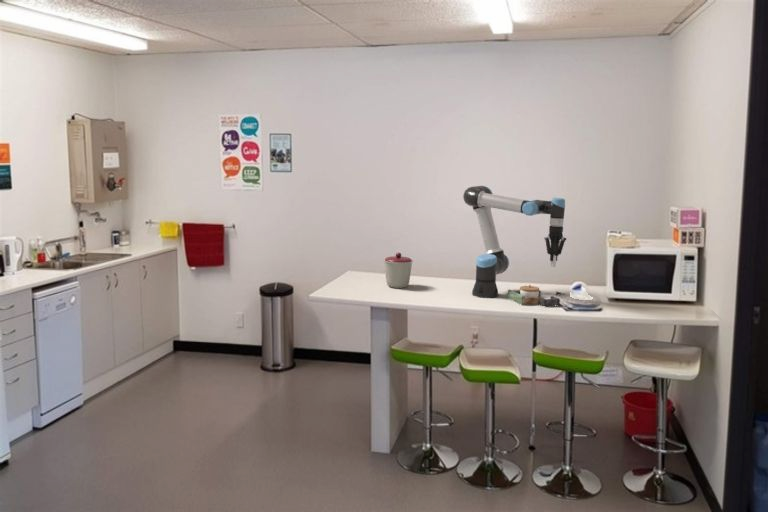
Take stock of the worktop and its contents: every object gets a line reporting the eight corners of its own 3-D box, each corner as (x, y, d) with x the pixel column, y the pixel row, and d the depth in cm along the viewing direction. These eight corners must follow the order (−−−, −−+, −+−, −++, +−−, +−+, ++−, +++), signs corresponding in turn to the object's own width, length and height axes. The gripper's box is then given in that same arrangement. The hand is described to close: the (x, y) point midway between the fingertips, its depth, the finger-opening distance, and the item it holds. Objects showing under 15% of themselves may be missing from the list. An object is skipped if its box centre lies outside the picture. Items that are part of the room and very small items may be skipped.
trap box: (526, 307, 366) (527, 298, 365) (503, 296, 393) (503, 287, 393) (559, 306, 371) (559, 297, 370) (534, 294, 399) (534, 286, 398)
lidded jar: (538, 303, 376) (539, 287, 374) (519, 302, 378) (519, 286, 376) (538, 299, 386) (539, 283, 384) (519, 298, 388) (520, 282, 387)
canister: (382, 283, 422) (383, 250, 419) (411, 283, 423) (412, 250, 419) (383, 289, 404) (384, 254, 401) (413, 289, 405) (414, 255, 401)
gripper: (549, 226, 374) (546, 268, 378) (570, 226, 377) (566, 267, 381) (542, 224, 381) (539, 265, 385) (563, 224, 384) (559, 265, 388)
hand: (553, 266), depth 383 cm, fingers closed
